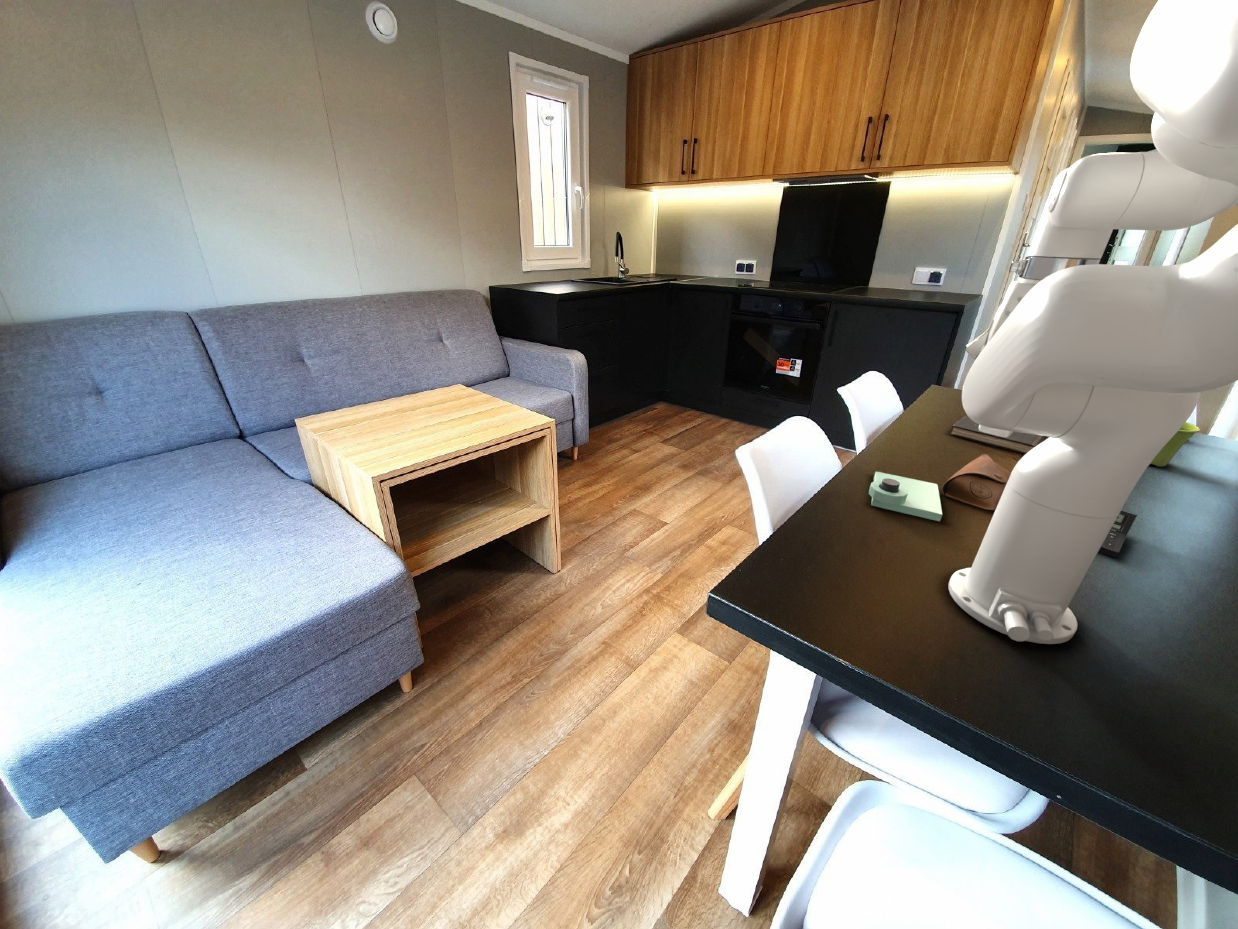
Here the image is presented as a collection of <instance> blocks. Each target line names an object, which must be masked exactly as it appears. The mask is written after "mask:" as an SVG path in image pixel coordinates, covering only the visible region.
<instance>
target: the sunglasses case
mask: <svg viewBox="0 0 1238 929" xmlns="http://www.w3.org/2000/svg"><path fill="white" fill-rule="evenodd" d="M1011 473H1012V472H1010V471H1009V470H1007V469H1005V468H1004V467H1003V466H1001V465H1000V464H998V463H997V462H995V461H994V460H993V459H992V457H990V456H989V455H988V454H987V453H984V454H981V455H979V456H978V457H976V458H975V459H974V460H971V461H970V462H968V463H967V464H966V465H964V466H962V467H961V468H960V469H959V470H958V471H957V472H955V473H954V474H952V476H951V477H949V478H948V479H947V480H946V481H945V482H944V483H943V486H942V491H943V493H944V495H945V497H947V498H949V499H952V500H956V501H958V502H961V503H964V504H967V505H970V506H974V507H976V508H979V509H982V510H986V511H995V510H996V508H997V505H998V503H999V501H1000V498H1001V496H1002V493H1003V491H1004V489H1005V486H1006V484H1007V482H1008V480H1009V477H1010V475H1011Z"/></svg>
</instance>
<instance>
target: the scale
mask: <svg viewBox="0 0 1238 929" xmlns="http://www.w3.org/2000/svg"><path fill="white" fill-rule="evenodd" d="M885 478H889V479H894V480H896V481H898V482H899V483H900V486H899V489H898V492H897V493H891V492H886V491H884V490H882V489H881V488H880V487H881V483H882V480H883V479H885ZM868 495H869V496H870V497H871V504H870V506H872V507H875V508H880V509H884V510H890V511H893V512H898V513H901V514H906V515H910V516H915V517H918V518H923V519H927V520H931V521H935V522H941V520H942V518H943V509H942V503H941V497H940V491H939V486H938V483H934V482H930V481H929V482H928V481H925V480H919V479H915V478H909V477H905V476H900V475H897V474H890V473H885V472H882V471H876V470H875V472H874V476H873V481H872V482H871V483H870V486H869V490H868Z"/></svg>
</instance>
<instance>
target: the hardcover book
mask: <svg viewBox="0 0 1238 929" xmlns="http://www.w3.org/2000/svg"><path fill="white" fill-rule="evenodd" d="M979 425H980V424H977V423H976V422H974V421H973V420H971V419H970V418H969V417H968V416H967V414H966V415H964V416H963V417H961V418H960V419H959V420H958V421H956V422H955V423H954V424H953V425H951V427H952V428H953V429H952V431H951V432H949V435H950V436H954V437H958V438H961V439H964V440H969V441H973V442H977V443H980V444H984V445H988V446H992V447H996V448H1000V449H1004V450H1007V451H1012V452H1015V453H1019V454H1023V455H1025V454H1027V453H1028V452H1029V451H1030V450H1031V449H1033V448H1034V447H1036V446H1037V445H1039V444H1040V443H1042V442H1043V441H1045V440H1046V439H1048V438H1049V436H1042V435H1035V434H1028V433H1021V432H1012V433H1011V434H1010V435H1009V436H1008V437H1000V436H996V435H992V434H988V433H984V432H981V431H979Z"/></svg>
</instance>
